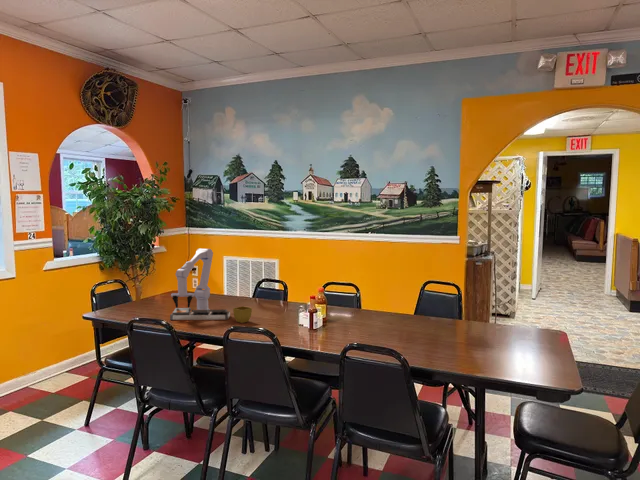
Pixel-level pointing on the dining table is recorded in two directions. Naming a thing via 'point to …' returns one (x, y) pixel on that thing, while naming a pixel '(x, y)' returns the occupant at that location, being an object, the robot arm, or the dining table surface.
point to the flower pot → (242, 314)
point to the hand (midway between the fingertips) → (182, 307)
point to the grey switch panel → (201, 316)
